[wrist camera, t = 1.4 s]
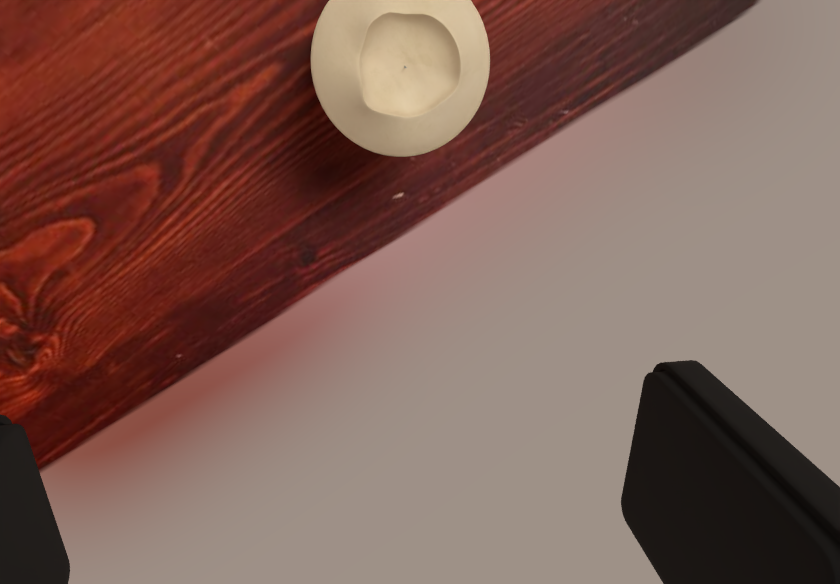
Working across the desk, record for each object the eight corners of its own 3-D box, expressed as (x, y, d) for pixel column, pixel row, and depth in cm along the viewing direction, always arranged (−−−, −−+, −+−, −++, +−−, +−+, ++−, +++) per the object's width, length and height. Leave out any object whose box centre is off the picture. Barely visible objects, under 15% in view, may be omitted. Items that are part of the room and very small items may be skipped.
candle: (362, 144, 27) (381, 201, 18) (287, 33, 25) (267, 35, 16) (462, 75, 26) (535, 98, 17) (396, -45, 24) (440, -90, 15)
